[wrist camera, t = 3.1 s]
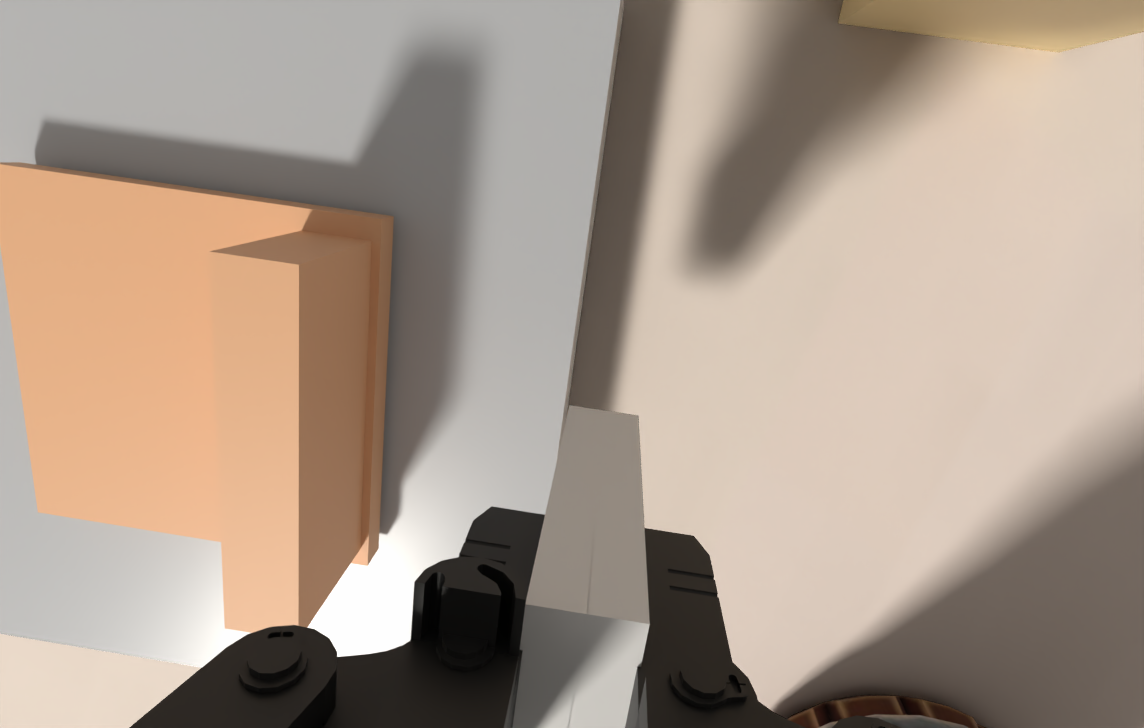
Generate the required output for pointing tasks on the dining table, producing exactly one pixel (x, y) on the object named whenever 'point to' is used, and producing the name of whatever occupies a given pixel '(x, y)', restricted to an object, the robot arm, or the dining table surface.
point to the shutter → (204, 372)
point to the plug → (1003, 20)
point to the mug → (885, 713)
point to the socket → (341, 180)
